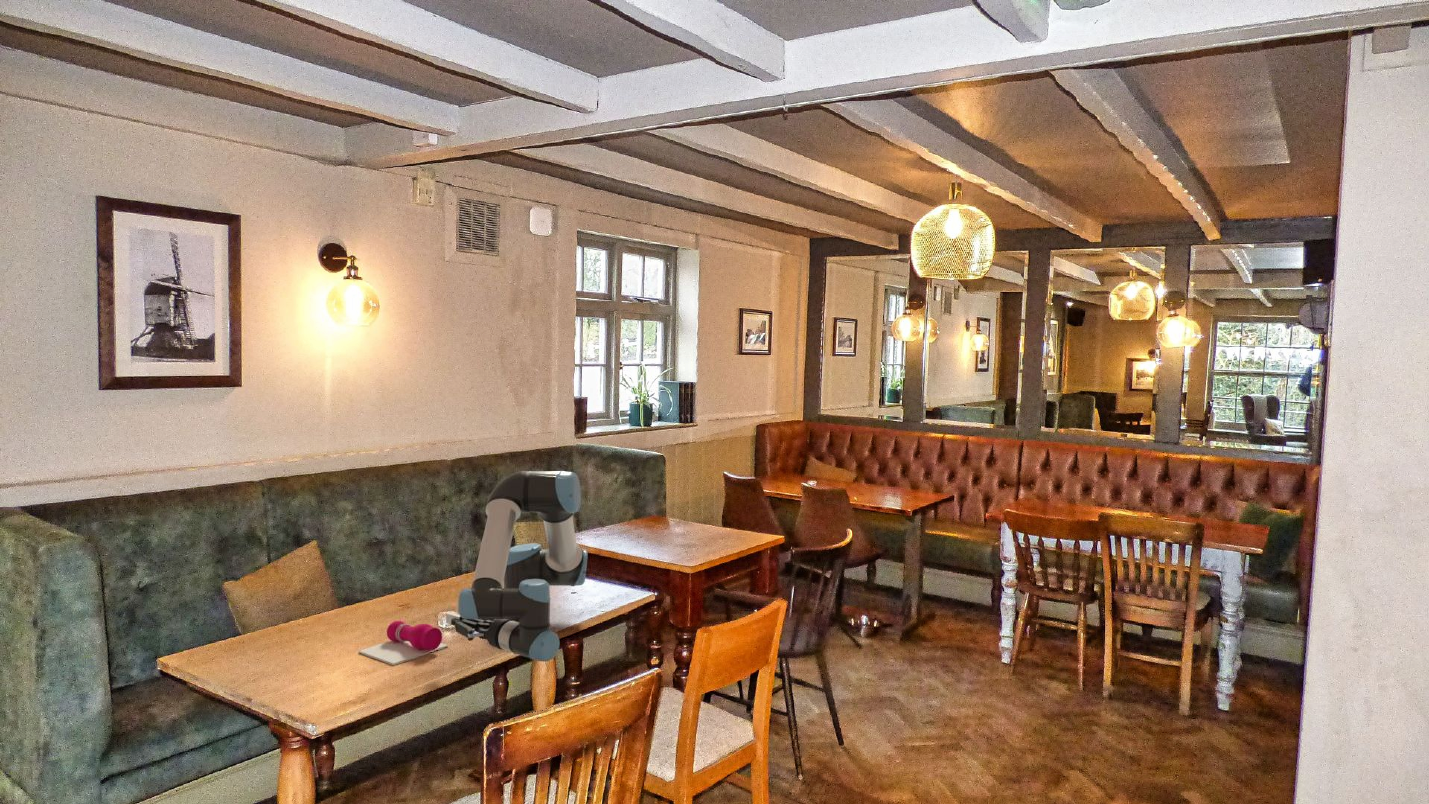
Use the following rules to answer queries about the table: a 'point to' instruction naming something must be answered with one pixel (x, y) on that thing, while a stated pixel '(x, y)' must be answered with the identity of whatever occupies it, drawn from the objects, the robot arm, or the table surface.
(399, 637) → the pepper mill
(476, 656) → the table surface
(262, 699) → the table surface
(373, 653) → the grey rubber mat
